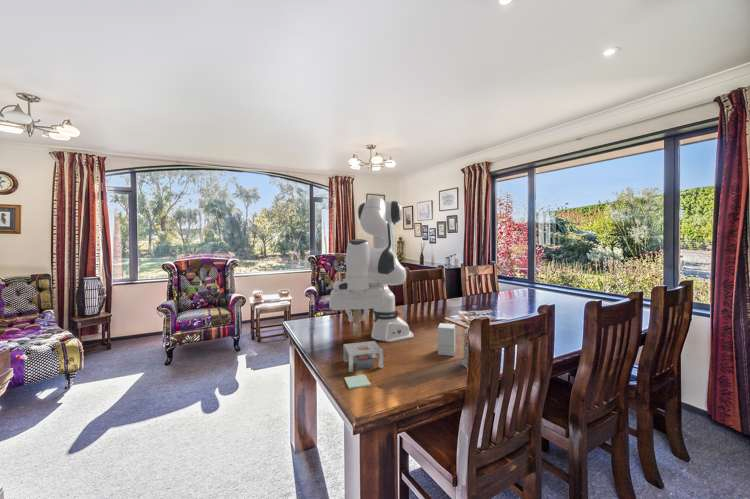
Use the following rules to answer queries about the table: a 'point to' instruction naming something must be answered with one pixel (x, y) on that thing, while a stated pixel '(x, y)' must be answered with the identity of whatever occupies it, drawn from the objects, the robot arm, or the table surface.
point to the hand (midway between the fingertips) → (356, 321)
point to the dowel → (356, 322)
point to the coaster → (357, 381)
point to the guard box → (354, 353)
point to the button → (363, 357)
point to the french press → (466, 345)
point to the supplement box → (446, 339)
